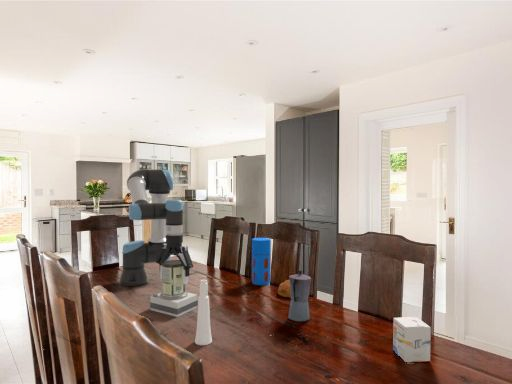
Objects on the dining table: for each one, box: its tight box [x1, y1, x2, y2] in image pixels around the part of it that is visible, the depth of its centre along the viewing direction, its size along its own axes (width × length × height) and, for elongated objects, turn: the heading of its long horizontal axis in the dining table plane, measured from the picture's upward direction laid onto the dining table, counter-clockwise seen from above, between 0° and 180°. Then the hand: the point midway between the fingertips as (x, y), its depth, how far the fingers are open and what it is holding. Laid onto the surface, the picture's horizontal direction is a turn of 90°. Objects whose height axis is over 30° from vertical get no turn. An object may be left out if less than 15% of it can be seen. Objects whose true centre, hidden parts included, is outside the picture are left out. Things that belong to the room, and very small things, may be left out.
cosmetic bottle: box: [194, 278, 213, 346], centre depth 122 cm, size 6×6×22 cm
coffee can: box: [161, 259, 186, 297], centre depth 155 cm, size 10×10×14 cm
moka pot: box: [287, 270, 312, 322], centre depth 144 cm, size 10×15×20 cm, turn 161°
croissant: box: [277, 279, 291, 299], centre depth 177 cm, size 14×16×8 cm
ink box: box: [392, 316, 432, 362], centre depth 112 cm, size 9×8×12 cm
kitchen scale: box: [149, 290, 198, 318], centre depth 155 cm, size 16×13×7 cm
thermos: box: [251, 237, 272, 286], centre depth 197 cm, size 11×11×25 cm
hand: (174, 281), depth 155 cm, fingers open, 13 cm apart
